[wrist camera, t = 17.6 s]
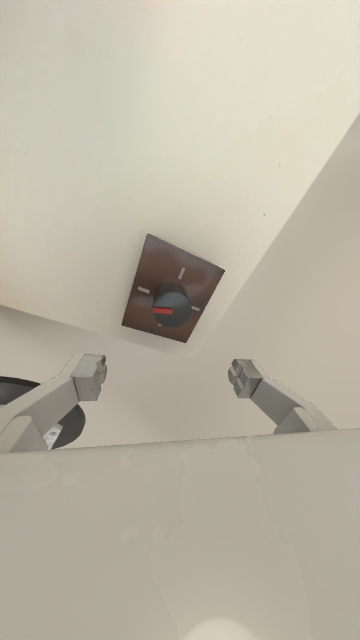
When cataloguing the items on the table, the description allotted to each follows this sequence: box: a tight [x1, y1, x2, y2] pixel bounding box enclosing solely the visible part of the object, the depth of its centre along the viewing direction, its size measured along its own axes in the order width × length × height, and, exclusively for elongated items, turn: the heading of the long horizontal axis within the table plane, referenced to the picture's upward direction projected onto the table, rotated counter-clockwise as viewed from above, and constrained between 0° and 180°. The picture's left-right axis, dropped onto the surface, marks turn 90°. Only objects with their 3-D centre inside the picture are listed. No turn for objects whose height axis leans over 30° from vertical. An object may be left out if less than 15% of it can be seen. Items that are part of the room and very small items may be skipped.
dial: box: [152, 283, 192, 327], centre depth 18 cm, size 4×4×4 cm
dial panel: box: [121, 234, 225, 343], centre depth 21 cm, size 12×10×3 cm
